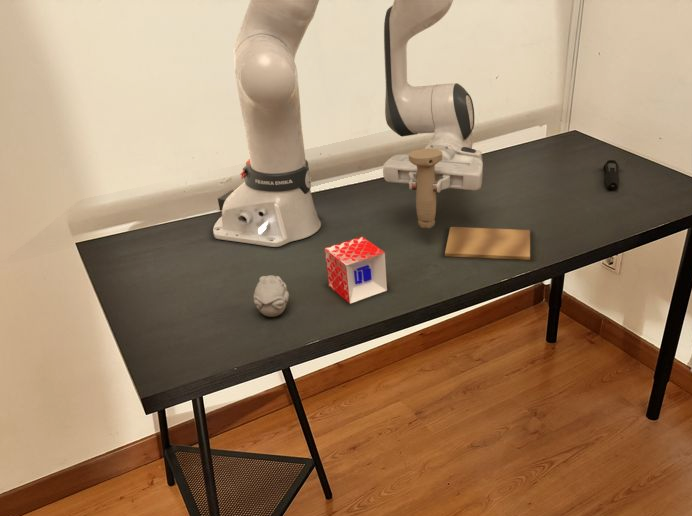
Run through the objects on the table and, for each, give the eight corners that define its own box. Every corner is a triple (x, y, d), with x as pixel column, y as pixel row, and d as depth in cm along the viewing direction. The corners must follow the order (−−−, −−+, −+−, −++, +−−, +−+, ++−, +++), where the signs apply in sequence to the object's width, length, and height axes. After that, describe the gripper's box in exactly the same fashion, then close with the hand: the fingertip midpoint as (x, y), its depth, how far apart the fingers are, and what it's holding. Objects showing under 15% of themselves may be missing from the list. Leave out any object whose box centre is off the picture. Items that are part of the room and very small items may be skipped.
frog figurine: (295, 303, 130) (290, 269, 126) (286, 324, 124) (281, 289, 120) (261, 302, 130) (255, 268, 126) (251, 324, 124) (245, 289, 120)
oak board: (444, 256, 144) (444, 252, 144) (450, 230, 154) (450, 226, 154) (529, 260, 143) (530, 256, 143) (529, 233, 153) (530, 229, 152)
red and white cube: (365, 273, 139) (362, 236, 134) (387, 290, 133) (384, 252, 129) (328, 286, 135) (324, 248, 130) (349, 304, 130) (345, 265, 125)
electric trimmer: (603, 193, 171) (605, 181, 169) (602, 168, 183) (604, 156, 181) (619, 194, 170) (621, 182, 168) (617, 169, 182) (619, 157, 181)
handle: (445, 227, 145) (446, 155, 136) (416, 233, 142) (414, 160, 134) (436, 218, 148) (435, 146, 139) (407, 223, 146) (405, 151, 137)
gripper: (392, 143, 151) (372, 166, 140) (489, 151, 147) (475, 176, 136) (394, 171, 154) (374, 197, 143) (487, 181, 151) (474, 207, 140)
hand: (424, 187), depth 140 cm, fingers closed on handle, 3 cm apart
